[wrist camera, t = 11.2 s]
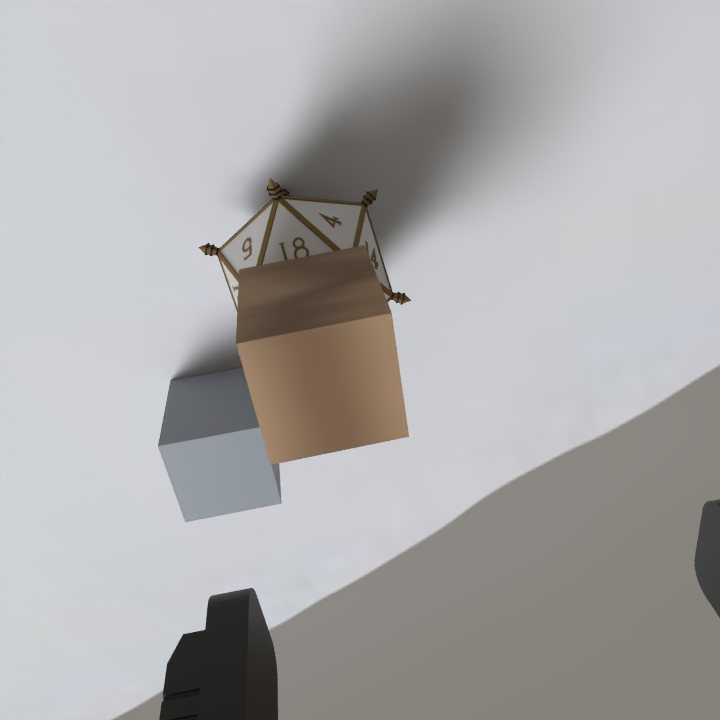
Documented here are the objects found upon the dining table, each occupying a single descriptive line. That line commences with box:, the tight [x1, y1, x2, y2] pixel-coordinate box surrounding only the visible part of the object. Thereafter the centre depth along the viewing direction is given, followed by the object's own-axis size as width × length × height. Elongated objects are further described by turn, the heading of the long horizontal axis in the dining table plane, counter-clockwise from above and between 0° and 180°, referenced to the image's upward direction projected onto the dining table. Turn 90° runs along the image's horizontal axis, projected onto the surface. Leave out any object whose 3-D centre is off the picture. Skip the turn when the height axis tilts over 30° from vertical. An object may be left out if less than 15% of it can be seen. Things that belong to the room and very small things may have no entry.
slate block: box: [158, 367, 281, 522], centre depth 37 cm, size 5×5×6 cm
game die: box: [199, 179, 411, 356], centre depth 32 cm, size 9×8×10 cm
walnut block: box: [236, 245, 409, 465], centre depth 26 cm, size 5×5×6 cm
